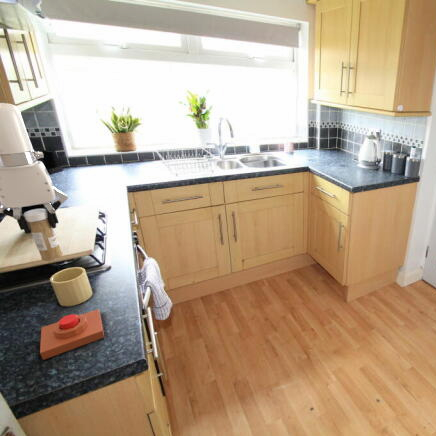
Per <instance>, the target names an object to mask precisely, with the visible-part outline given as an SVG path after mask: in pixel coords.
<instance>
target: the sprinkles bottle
mask: <svg viewBox="0 0 436 436" xmlns="http://www.w3.org/2000/svg"><path fill="white" fill-rule="evenodd" d="M23 215H24V218H25V220H26V221H27V223H28V225H29V228H30V234H31V237H32V239H33V241H34V243H35V246H36V248H37V250H38V253H39V255H40V259H41V260H42V261H43V262H51V261H55V260H57V259H59V258H61V257H62V256H63V255H64V253H63V251H62V250H61V247H60V245H59V241H58V238H57V236H56V233H55V231H54V228H52V226H51V223H50V220H49V217H48V210H47V208H34V209H30V210H27V211H25V212H24V213H23Z"/></svg>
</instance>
